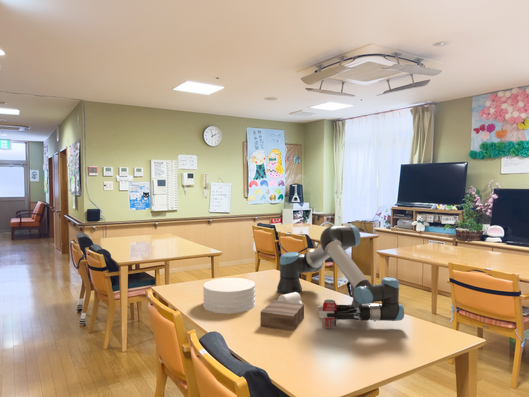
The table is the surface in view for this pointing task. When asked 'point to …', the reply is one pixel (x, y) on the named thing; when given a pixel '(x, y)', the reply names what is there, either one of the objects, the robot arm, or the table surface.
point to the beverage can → (329, 306)
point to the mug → (291, 298)
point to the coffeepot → (352, 295)
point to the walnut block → (282, 315)
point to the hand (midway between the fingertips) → (318, 311)
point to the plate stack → (229, 295)
